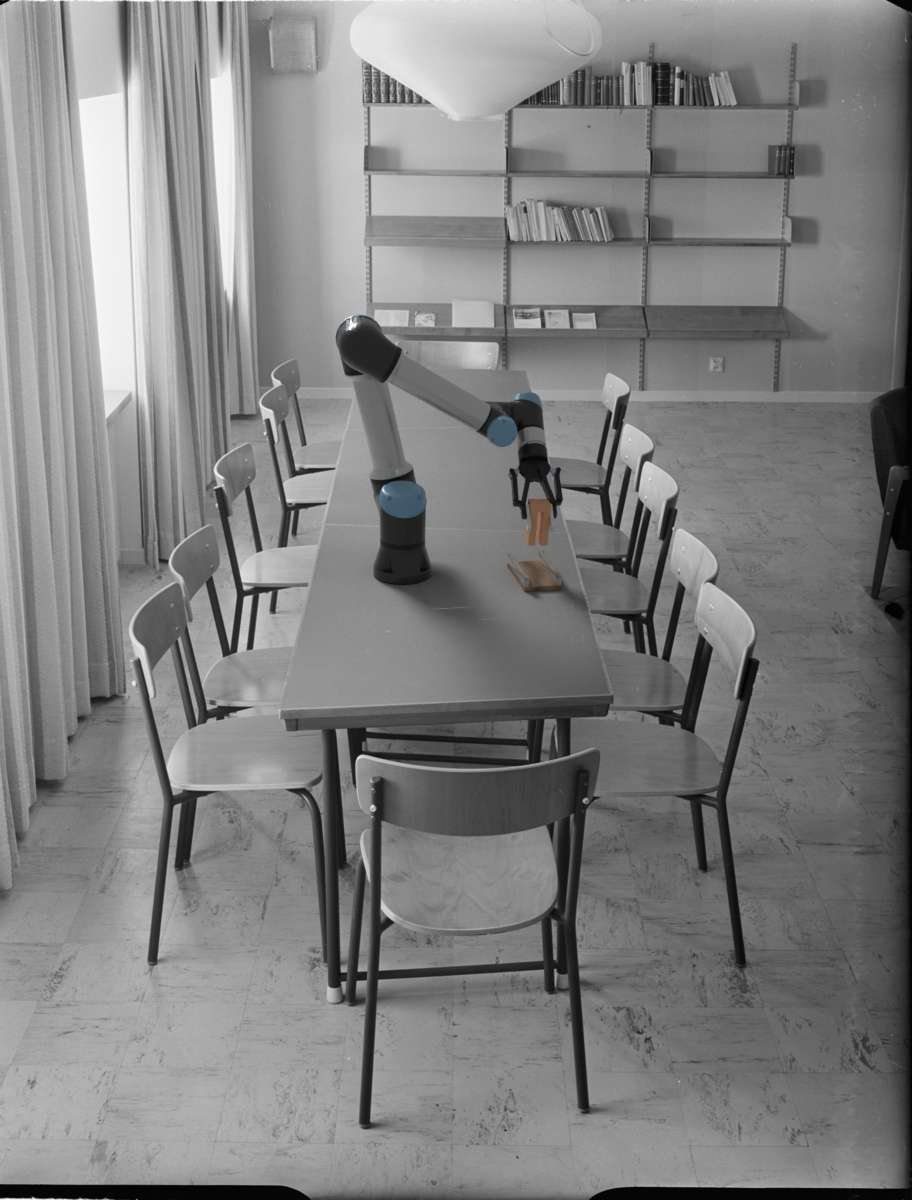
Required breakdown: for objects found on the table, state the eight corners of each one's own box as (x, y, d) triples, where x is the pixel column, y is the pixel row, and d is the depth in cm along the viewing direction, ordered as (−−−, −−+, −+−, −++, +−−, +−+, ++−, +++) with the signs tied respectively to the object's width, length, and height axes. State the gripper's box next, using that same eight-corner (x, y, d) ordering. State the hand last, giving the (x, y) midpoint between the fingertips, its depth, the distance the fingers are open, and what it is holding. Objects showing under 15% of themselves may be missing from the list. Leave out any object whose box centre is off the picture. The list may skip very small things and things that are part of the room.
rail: (524, 591, 299) (525, 578, 298) (507, 566, 316) (507, 553, 314) (560, 589, 301) (561, 576, 300) (541, 564, 318) (542, 551, 316)
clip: (528, 545, 302) (531, 504, 298) (524, 539, 306) (528, 498, 302) (547, 545, 303) (551, 504, 299) (543, 539, 307) (547, 499, 303)
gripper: (564, 455, 313) (573, 535, 304) (495, 456, 311) (503, 537, 302) (569, 440, 306) (579, 522, 297) (498, 442, 304) (506, 524, 295)
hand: (540, 529), depth 300 cm, fingers closed on clip, 5 cm apart
